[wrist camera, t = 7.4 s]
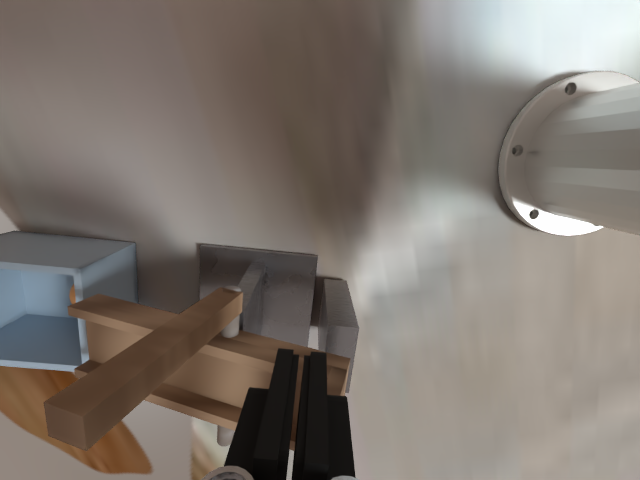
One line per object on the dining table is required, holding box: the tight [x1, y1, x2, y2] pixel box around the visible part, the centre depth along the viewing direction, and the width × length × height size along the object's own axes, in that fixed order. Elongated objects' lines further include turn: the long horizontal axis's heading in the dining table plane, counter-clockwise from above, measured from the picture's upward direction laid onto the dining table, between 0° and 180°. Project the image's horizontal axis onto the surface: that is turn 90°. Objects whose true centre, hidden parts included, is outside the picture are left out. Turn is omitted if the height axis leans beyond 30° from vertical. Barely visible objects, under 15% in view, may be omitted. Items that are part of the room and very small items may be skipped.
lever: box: [44, 286, 351, 451], centre depth 15 cm, size 17×10×10 cm, turn 82°
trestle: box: [200, 244, 359, 393], centre depth 24 cm, size 13×9×9 cm
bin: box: [0, 231, 138, 372], centre depth 23 cm, size 10×8×10 cm
